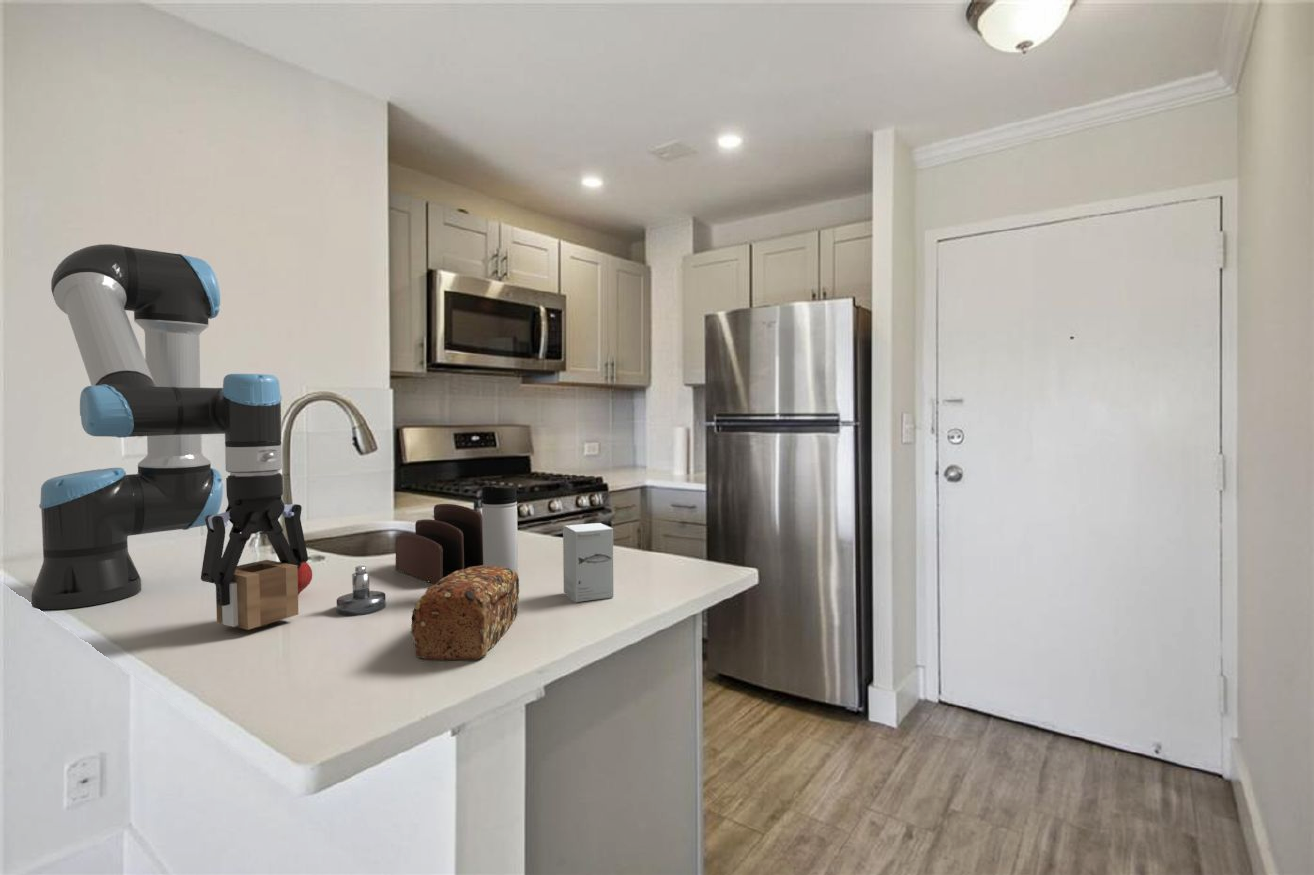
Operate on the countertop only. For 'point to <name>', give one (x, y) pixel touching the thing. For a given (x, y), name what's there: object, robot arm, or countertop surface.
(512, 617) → the bread
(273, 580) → the collar
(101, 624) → the countertop surface
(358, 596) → the hub
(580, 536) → the supplement box
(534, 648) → the countertop surface
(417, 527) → the letter holder
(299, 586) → the onion
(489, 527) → the travel mug
